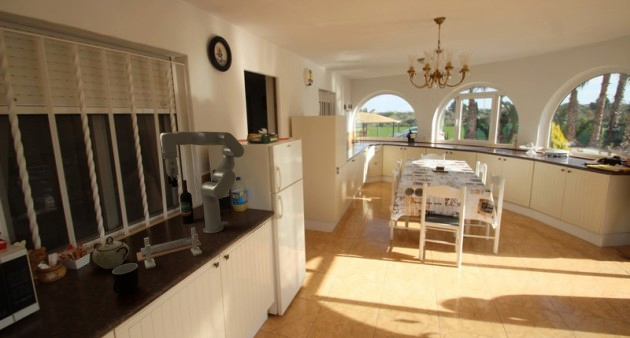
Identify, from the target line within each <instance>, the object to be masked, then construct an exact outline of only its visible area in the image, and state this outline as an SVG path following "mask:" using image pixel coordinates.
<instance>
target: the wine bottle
mask: <svg viewBox="0 0 630 338" xmlns="http://www.w3.org/2000/svg"><path fill="white" fill-rule="evenodd" d="M187 182H188V181H187V179H182V180H181V184H182V192H181V193H180V195H179V201H180V202H179V204H180V215H181V221H182V224H183V225H190V224H194V223H195V218H194V217H195V215H194V207H193V195H192V193H191V192H190V191H188V183H187Z"/></svg>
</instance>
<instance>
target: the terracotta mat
mask: <svg viewBox="0 0 630 338" xmlns="http://www.w3.org/2000/svg"><path fill="white" fill-rule="evenodd" d="M196 241H197V247H201V246H202V242H200V240H199V239H198V240H196ZM192 248H193V244H190V245H186V246H182V247H178V248H174V249H170V250H166V251H162V252H158V253H154V254H151V259H154V258H158V257H161V256H166V255H169V254H174V253H177V252H181V251H185V250H189V249H190V250H191V249H192ZM136 257H137V262H138V263H139V262H143V261H145V260H147V258H146V256H142V254H141V251H139V252H136Z"/></svg>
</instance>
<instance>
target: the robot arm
mask: <svg viewBox="0 0 630 338" xmlns="http://www.w3.org/2000/svg"><path fill="white" fill-rule="evenodd" d="M159 138H160V144H161V156H162V159H164V162H165V171H166V174H167V182H168V185H171V188H177V187H179V182H178V181H179V180H178V176H179V166H178V160H177V158H178V157H179V156H178V147H177V146H186V145H192V146H193V145H195V146H205V147H206V146H222V148H221V153H222V161H221V163H220V164H219V165H218V167H217V168H216V170H214V172H213V174H212V177H211V179H212V181H205V182H204V183H202V184H201V186H200V195H201V197H202V203H203V205H204V216H203V217H204V225H205V227H203V228H202V232H203V233H205V234H215V233H219V232H222V231H223V230H224V226H226V225H229V221H225V220H224V221H221V210H220V199H223V198H224V197H225V196H226V195H227V194H228V192H229V191H230V189H231V188H232V187H233V185H234V184H235V181H236V178H237V177H236V173H235V172H234V171H233V170H234V168H235V165H236V163H235V158H236V159H237V158H241V157H243V156H244V154H245V149H244V147H243V145H242V144H241V142H240V141H238V139H237V138H236V137H235V135H233V134H232V133H230V132H229V131H228V132H227V131H225V132H224V131H205V130H204V131H172V132H162V133H160V136H159Z"/></svg>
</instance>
